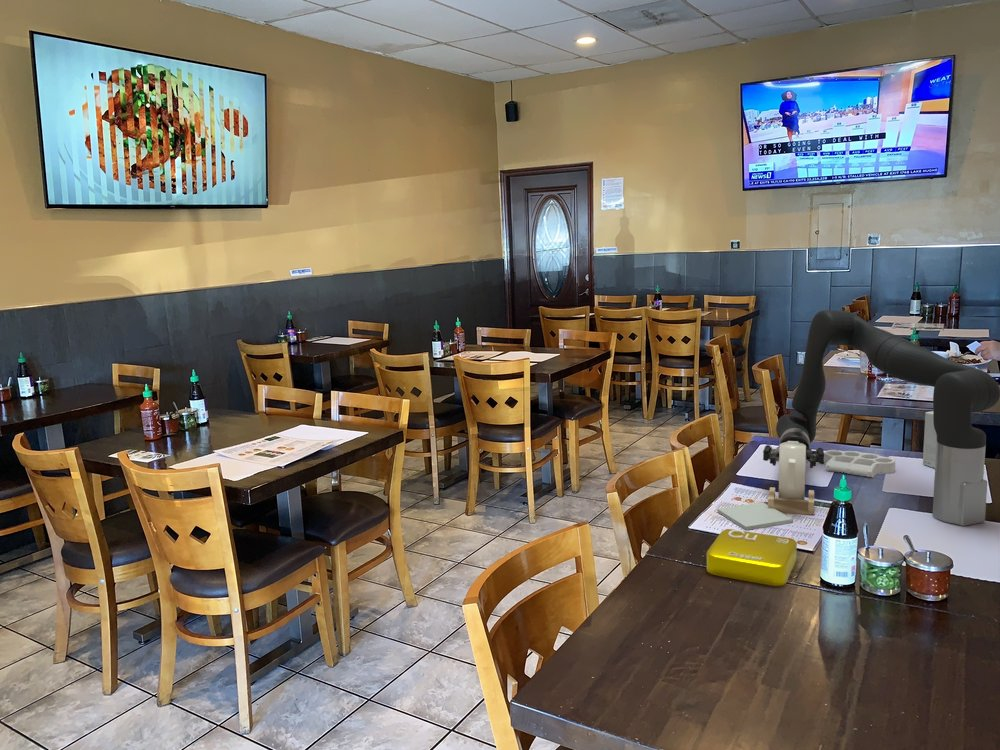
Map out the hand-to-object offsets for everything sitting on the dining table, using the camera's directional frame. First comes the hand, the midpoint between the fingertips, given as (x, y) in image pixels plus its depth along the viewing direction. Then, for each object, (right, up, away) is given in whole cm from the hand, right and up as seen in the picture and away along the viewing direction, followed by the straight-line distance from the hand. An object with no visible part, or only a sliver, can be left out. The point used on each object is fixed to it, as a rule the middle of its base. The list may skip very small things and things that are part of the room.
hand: (792, 462), depth 183 cm
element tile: (-21, -17, -33) cm, 43 cm away
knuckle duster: (+26, -4, +21) cm, 34 cm away
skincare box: (+48, -3, +19) cm, 52 cm away
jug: (-2, -10, -4) cm, 11 cm away
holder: (-2, -10, -3) cm, 11 cm away
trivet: (-12, -12, -9) cm, 19 cm away
